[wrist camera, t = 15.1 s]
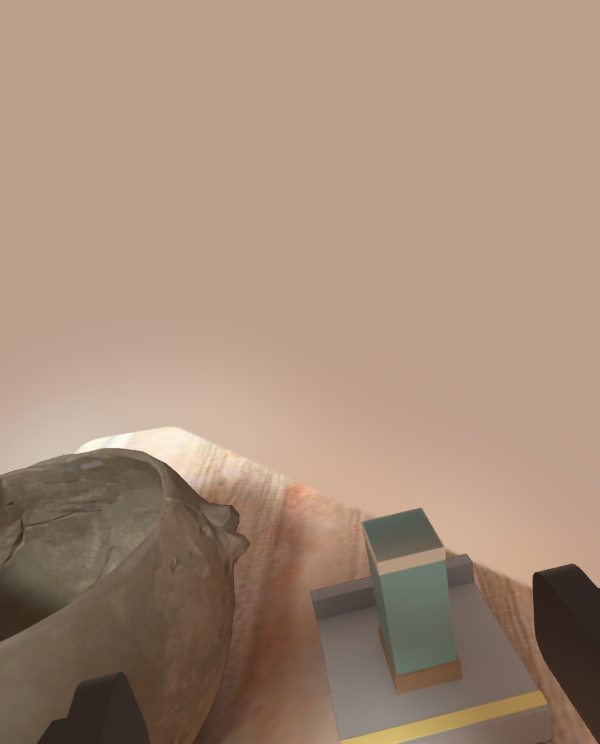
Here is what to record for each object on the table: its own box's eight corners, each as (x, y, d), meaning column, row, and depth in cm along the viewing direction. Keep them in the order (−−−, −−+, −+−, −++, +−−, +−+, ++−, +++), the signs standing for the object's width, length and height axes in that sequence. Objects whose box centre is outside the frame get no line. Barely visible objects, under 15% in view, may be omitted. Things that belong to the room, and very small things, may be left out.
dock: (351, 791, 36) (338, 739, 34) (320, 635, 48) (310, 591, 46) (552, 739, 36) (550, 685, 35) (471, 598, 49) (466, 553, 47)
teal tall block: (397, 694, 38) (375, 565, 34) (380, 641, 43) (358, 520, 39) (462, 678, 39) (447, 547, 35) (438, 626, 43) (422, 505, 39)
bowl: (342, 803, 35) (282, 558, 28) (-163, 1098, 27) (-421, 856, 20) (235, 562, 60) (189, 399, 53) (-48, 679, 52) (-147, 504, 45)
